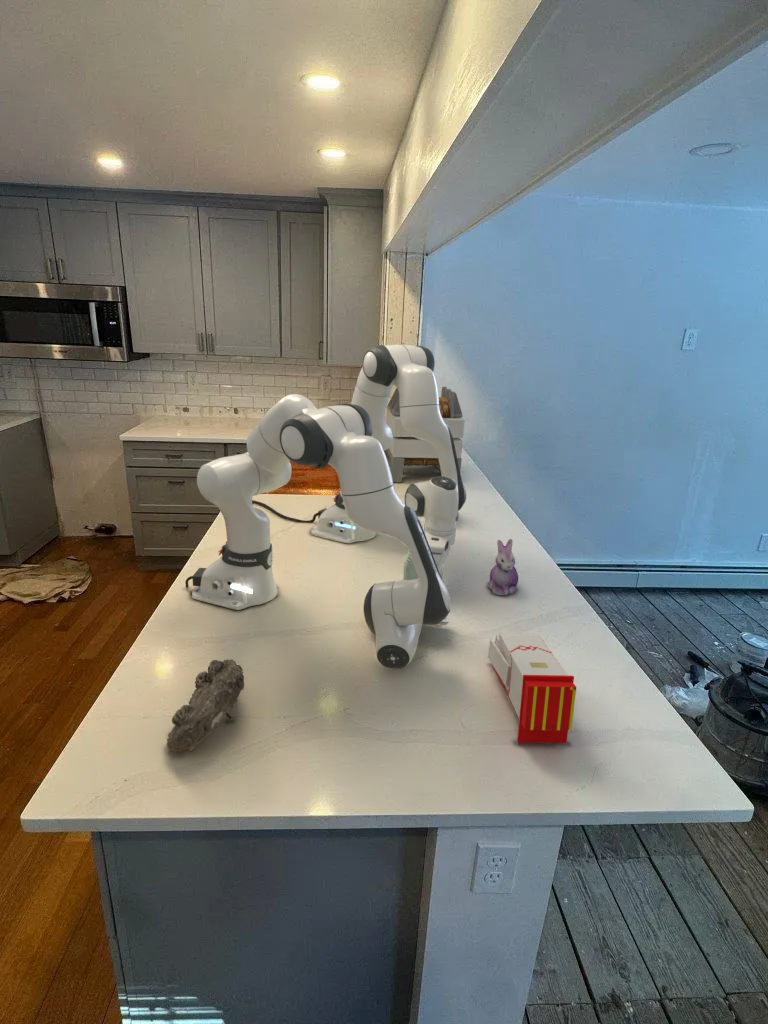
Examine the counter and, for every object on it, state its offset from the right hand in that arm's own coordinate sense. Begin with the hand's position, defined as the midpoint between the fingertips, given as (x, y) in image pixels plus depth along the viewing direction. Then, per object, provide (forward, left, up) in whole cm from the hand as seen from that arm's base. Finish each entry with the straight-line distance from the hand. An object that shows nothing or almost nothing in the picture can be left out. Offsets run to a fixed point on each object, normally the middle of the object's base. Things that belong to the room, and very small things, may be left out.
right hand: (435, 580), depth 162 cm
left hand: (-3, -17, +4) cm, 18 cm away
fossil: (-30, -69, -2) cm, 75 cm away
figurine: (+19, +5, -2) cm, 20 cm away
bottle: (-3, -18, -2) cm, 18 cm away
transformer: (-30, +115, -2) cm, 119 cm away
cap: (0, 0, +2) cm, 2 cm away
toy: (+27, -43, -2) cm, 50 cm away
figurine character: (-6, +55, -2) cm, 56 cm away
